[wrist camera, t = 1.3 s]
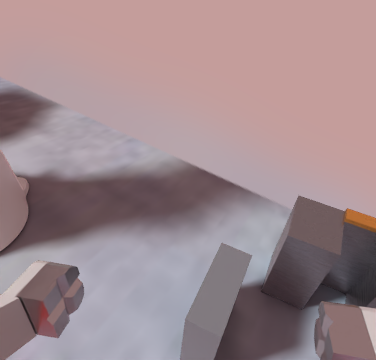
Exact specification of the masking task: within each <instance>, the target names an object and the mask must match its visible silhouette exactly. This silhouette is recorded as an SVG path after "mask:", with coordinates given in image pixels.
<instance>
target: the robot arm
mask: <svg viewBox="0 0 376 360" xmlns="http://www.w3.org/2000/svg"><path fill="white" fill-rule="evenodd" d="M28 190H29V183H28V182H27V180H26V179H25V178H21V177H17V176H16V175H15V173H14V172H13V170H12V168H11V166H10V165H9V163H8V161H7V159H6V158H5V156H4V154H3V152H2V151H1V150H0V251H1V250H3V249H4V248H5V247H7V246H8V245H9V244H10V243H11V242H12V241H13V240H14V239H15V238H16V237H17V236H18V235H19V233H20V232H21V231H22V229H23V227H24V226H25V224H26V221H27V218H28V212H29V210H28V204H27V201H26V195H27V193H28ZM79 274H80V273H79V271H78V268H77V267H75V266H70V265H65V264H59V263H53V262H46V261H40V260H38V261H36V262H33V263H32V264H31V266H30V267H29V268H28V269H27V270H26V271H25V272H24V273H23V274H22V275H21V276H20V277H19V278H18V279H17V280H16V281H15V282H14V283H13V284H12V285H11V286H10V287H9V288H8V289H7V290H6V291H5V292H4V293H3V294H0V360H5V359H6V358H8V357H9V356H10V355H12V354H13V353H14V352H16V351H17V350H18V349H20V348H21V347H22V346H24V345H25V344H26V343H28V342H29V341H30V340H32V339H33V338H34V337H35V336H36V334H37V335H42V336H48V337H54V338H59V336H60V335H61V333H62V332H63V330H64V329H65V327H66V326H67V324H68V323H69V321H70V319H69V315H70V314H71V313H73V312H74V311H76V310H77V309H78V307H79V306H80V304H81V302H82V299H83V296H84V287H83V283H82V282H81V281H80V280H79V279H78V276H79ZM318 311H319V317H320V318H318V319H316V323H315V331H314V341H315V350H316V354H317V355H318V356H319V358H320V360H376V309H375V308H368V307H361V306H355V305H347V304H340V303H332V302H325V301H321V303H320V305H319V309H318Z"/></svg>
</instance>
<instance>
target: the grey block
mask: <svg viewBox="0 0 376 360" xmlns="http://www.w3.org/2000/svg"><path fill="white" fill-rule="evenodd" d="M251 257H252V255H250V254H247V253H245V252H243V251H240V250H238V249H235V248H233V247H231V246H228V245H226V244H223V243H221V246H220V248H219V250H218V252H217V254H216V256H215V258H214V260H213V262H212V264H211V266H210V268H209V271H208V273H207V275H206V277H205V279H204V281H203V283H202V285H201V287H200V289H199V291H198V294H197V296H196V298H195V300H194V302H193V304H192V306H191V308H190V310H189V312H188V314H187V317H186V319H185V325H184V332H183V340H182V348H181V356H180V360H214V358H215V355H216V352H217V350H218V347H219V344H220V342H221V339H222V336H223V333H224V331H225V328H226V325H227V323H228V320H229V317H230V314H231V312H232V309H233V306H234V304H235V301H236V298H237V295H238V293H239V290H240V287H241V284H242V282H243V279H244V276H245V273H246V271H247V268H248V265H249V262H250V260H251Z"/></svg>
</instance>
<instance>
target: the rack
mask: <svg viewBox="0 0 376 360" xmlns="http://www.w3.org/2000/svg"><path fill="white" fill-rule="evenodd" d="M320 283H321V284H324V285H326V286H329V287H331V288H333V289H336V290H338V291H340V292H343V293H345V294H346V302H345V304H347V305H355V306H361V307H368V308H375V309H376V218H374V217H371V216H368V215H365V214H362V213H359V212H356V211H353V210H350V209H346V211H342V210H339V209H336V208H333V207H330V206H327V205H324V204H322V203H319V202H316V201H313V200H310V199H307V198H304V197H301V196H298V198H297V201H296V203H295V205H294V207H293V210H292V212H291V214H290V216H289V219H288V221H287V223H286V225H285V228H284V230H283V232H282V234H281V237H280V239H279V241H278V243H277V245H276V248H275V250H274V252H273V255H272V258H271V261H270V265H269V268H268V271H267V274H266V278H265V281H264V284H263V287H262V291H261V292H264V293H266V294H268V295H270V296H273V297H275V298H277V299H279V300H281V301H284V302H286V303H288V304H290V305H293V306H295V307H297V308H299V309H301V310H302V308H303V307H304V306H305V304H306V303H307V301H308V300H309V299H310V297H311V296H312V295H313V293H314V292H315V290H316V289H317V288H318V286H319V285H320Z"/></svg>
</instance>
